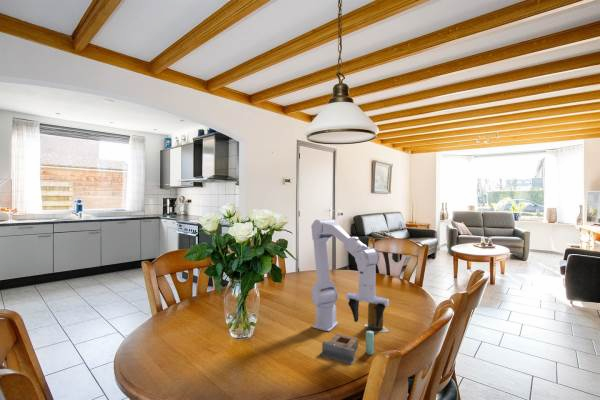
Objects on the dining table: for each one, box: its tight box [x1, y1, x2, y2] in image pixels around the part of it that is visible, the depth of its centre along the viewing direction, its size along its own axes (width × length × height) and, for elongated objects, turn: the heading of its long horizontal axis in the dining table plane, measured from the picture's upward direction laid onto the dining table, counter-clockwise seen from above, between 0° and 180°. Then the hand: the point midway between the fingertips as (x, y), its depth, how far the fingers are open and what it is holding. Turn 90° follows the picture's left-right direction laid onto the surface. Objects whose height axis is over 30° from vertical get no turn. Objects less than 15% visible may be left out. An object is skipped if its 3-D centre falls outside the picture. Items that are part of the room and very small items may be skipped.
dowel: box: [365, 330, 375, 356], centre depth 105 cm, size 3×3×7 cm
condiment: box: [363, 303, 390, 334], centre depth 125 cm, size 7×8×12 cm
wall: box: [319, 341, 356, 365], centre depth 101 cm, size 3×11×4 cm, turn 61°
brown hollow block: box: [328, 333, 359, 353], centre depth 106 cm, size 8×8×4 cm
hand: (367, 323), depth 106 cm, fingers open, 7 cm apart
